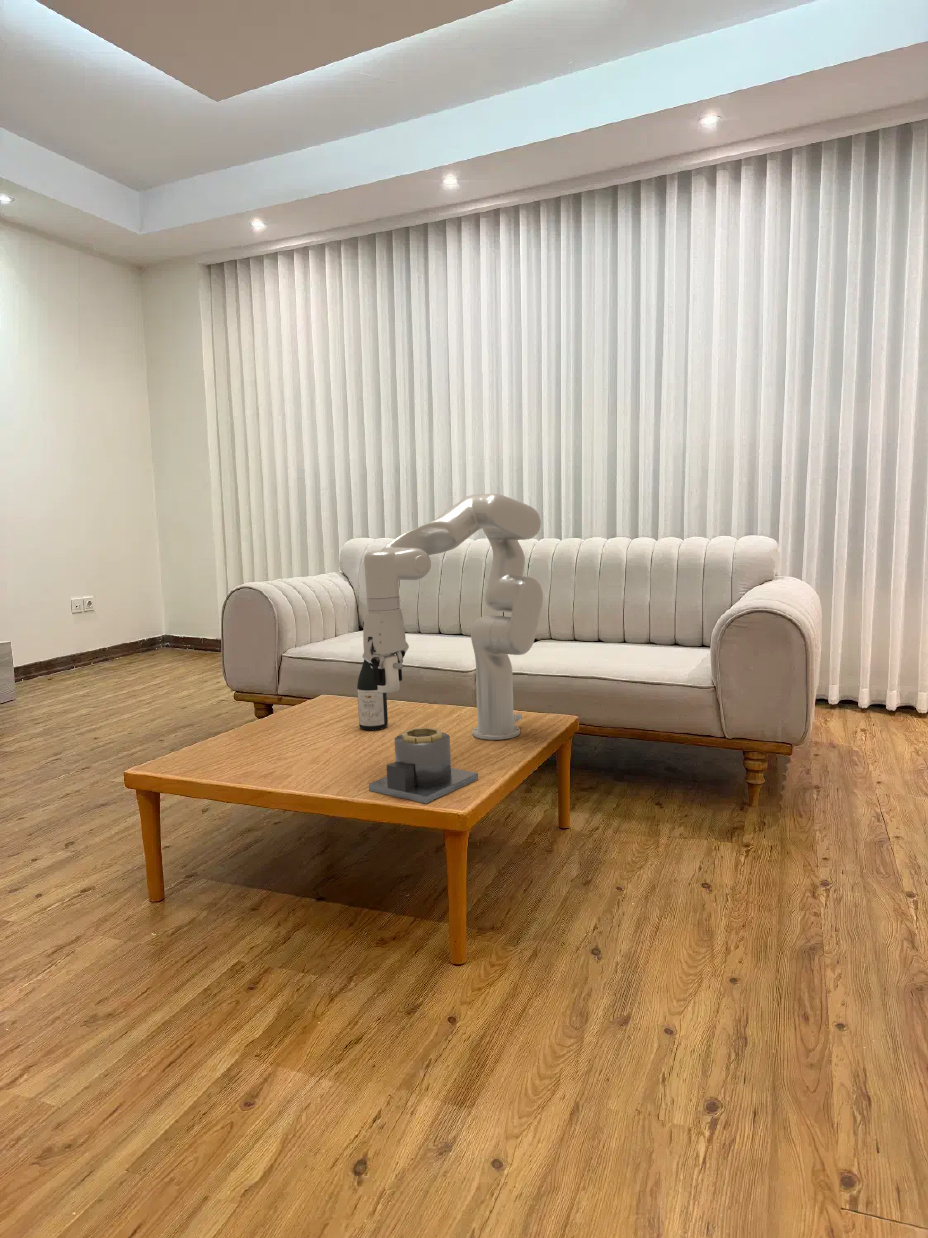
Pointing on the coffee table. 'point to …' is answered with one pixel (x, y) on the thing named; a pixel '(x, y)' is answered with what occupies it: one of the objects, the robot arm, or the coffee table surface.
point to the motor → (422, 767)
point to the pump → (390, 674)
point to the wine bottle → (370, 701)
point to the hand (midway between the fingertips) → (388, 681)
